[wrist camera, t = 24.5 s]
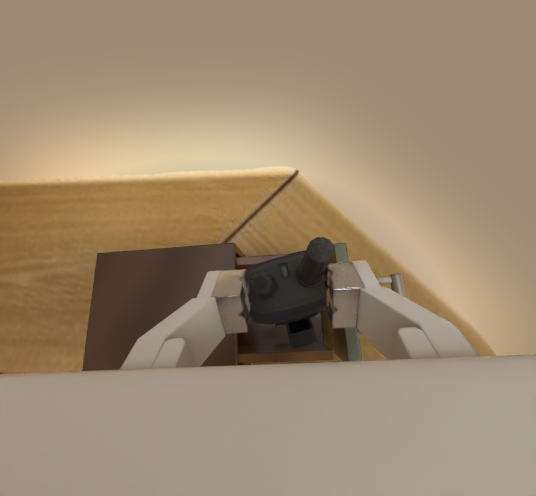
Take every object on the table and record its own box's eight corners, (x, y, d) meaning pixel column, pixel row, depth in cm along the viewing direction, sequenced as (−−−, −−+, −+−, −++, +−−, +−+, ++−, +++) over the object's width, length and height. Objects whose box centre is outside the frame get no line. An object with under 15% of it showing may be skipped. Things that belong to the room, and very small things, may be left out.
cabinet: (249, 260, 33) (234, 242, 25) (252, 361, 30) (236, 382, 21) (146, 267, 35) (97, 253, 26) (139, 365, 31) (79, 386, 23)
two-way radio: (315, 270, 22) (363, 186, 7) (331, 321, 20) (429, 346, 6) (254, 287, 22) (179, 238, 7) (267, 339, 20) (208, 405, 6)
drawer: (379, 254, 31) (405, 238, 24) (396, 352, 28) (430, 365, 21) (230, 265, 32) (213, 252, 25) (231, 358, 30) (212, 372, 23)
